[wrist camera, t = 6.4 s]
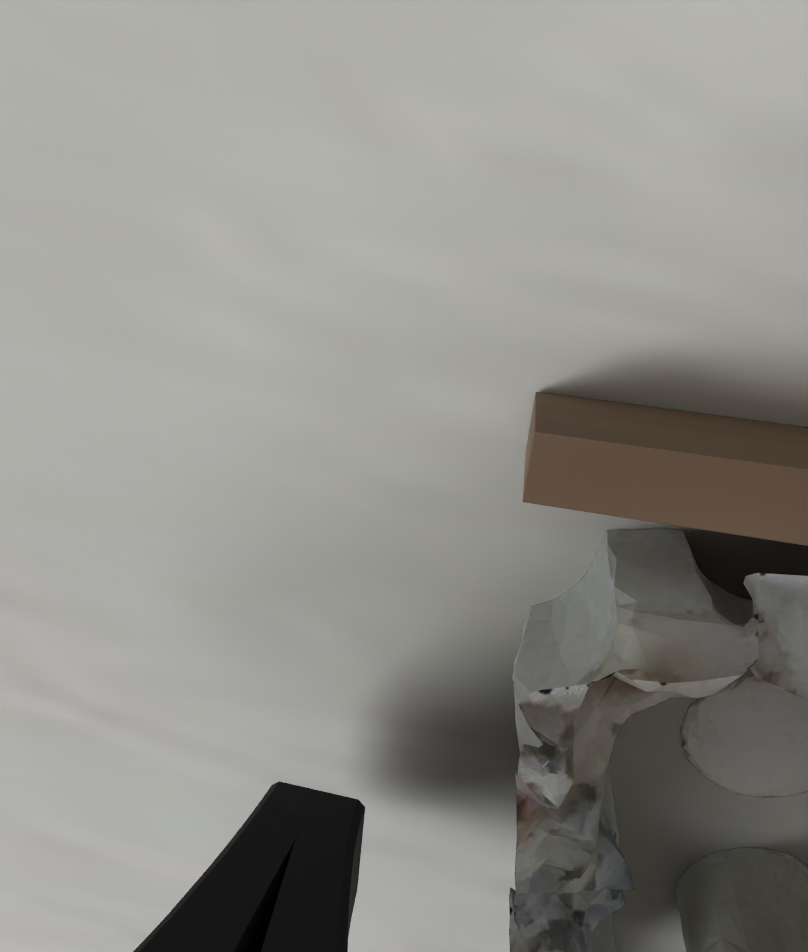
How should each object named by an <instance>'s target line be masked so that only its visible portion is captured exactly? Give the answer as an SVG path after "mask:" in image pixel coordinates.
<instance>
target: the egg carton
mask: <svg viewBox="0 0 808 952" xmlns="http://www.w3.org/2000/svg"><path fill="white" fill-rule="evenodd" d="M743 584H744V585H745V587H746V589H747V591H748V592H749V594H750V596H751V598H752V599H753V600H748V599H744V598H740V597H737V596H735V595H732V594H730V593H728V592H727V591H725V590H723V589H722V588H720V587H718V586H717V585H715V584H714V583H712V582H710V581H709V579H708V578H706V577H705V576H704V575H703V573H702V572H701V571H700V569H699V568H698V566H697V564H696V562H695V559H694V557H693V554H692V552H691V549H690V547H689V544H688V542H687V540H686V537H685V535H684V533H683V531H682V530H673V529H618V530H608V531H606V533H605V534H604V535H603V536H602V539H601V543H600V546H599V549H598V551H597V553H596V555H595V557H594V560H593V562H592V564H591V566H590V569H589V570H588V572H587V573H586V574H585V575H584V577H583V578H582V579H581V580H580V581H579V583H578V584H577V585H576V586H574V587H573V588H572V589H570V590H569V591H567V592H566V593H564V594H563V595H561V596H560V597H558V598H556V599H554V600H551V601H548V602H544V603H541V604H537V605H534V606H532V607H531V608H530V610H529V613H528V614H527V616H526V619H525V621H524V624H523V627H522V639H521V643H520V647H519V650H518V653H517V655H516V658H515V661H514V663H513V664H514V673H513V676H512V681H513V684H514V696H515V720H516V729H517V736H518V743H519V749H520V756H519V766H518V774H517V773H516V772H515V778H516V797H517V845H516V861H515V886H516V891H515V890H513V889H512V888H511V887H510V895H509V905H510V928H509V937H510V952H617V949H616V940H615V934H614V923H613V916H612V913H613V912H614V911H617V910H620V908H621V907H622V906H623V905H624V903H625V901H624V896H623V891H622V890H628V889H634V888H633V883H632V879H631V874H630V869H629V866H628V865H627V863H626V861H625V859H624V857H623V855H622V853H621V851H620V849H619V835H620V834H619V829H618V823H617V818H616V812H615V804H614V797H613V789H612V782H611V775H610V767H609V759H610V756H611V753H612V749H613V746H614V743H615V739H616V736H617V733H618V731H619V729H620V727H621V726H622V725H623V723H624V722H625V721H626V720H627V718H628V717H629V716H630V715H631V714H634V713H636V712H639V711H641V710H644V709H646V708H649V707H651V706H654V705H656V704H658V703H660V702H663V701H665V700H667V699H669V698H671V697H680V698H698V699H697V700H695V701H694V702H693V703H692V704H691V705H690V706H689V707H688V710H687V713H686V716H685V719H684V721H683V724H682V727H681V735H682V737H683V740H684V744H683V746H682V747H683V748H684V749H685V750H686V751H687V753H686V757H687V759H688V760H689V761H690V762H691V763H692V764H693V765H694V766H695V767H696V768H697V770H698V771H699V772H700V773H701V774H702V775H703V776H704V777H706V778H707V779H709V780H710V781H712V782H713V783H715V784H716V785H719V786H721V787H724V788H726V789H728V790H731V791H733V792H735V793H738V794H743V795H749V796H754V797H782V796H788V795H794V794H800V793H804V792H806V791H808V576H800V575H784V574H768V573H755V574H752V575H748V576H746V577H745V580H744V583H743ZM748 669H750V670H751V672H749V673H745V672H746V671H747V670H748ZM676 900H677V904H678V908H679V912H680V917H681V924H682V931H683V938H684V943H685V947H686V951H687V952H808V866H806V865H805V864H804V863H802V862H801V861H800V860H798V859H797V858H795V857H794V856H791V855H788V854H786V853H782V852H777V851H773V850H769V849H765V848H735V849H728V850H722V851H716V852H714V853H711V854H709V855H707V856H705V857H703V858H701V859H700V860H698V861H697V862H695V863H694V864H693V865H692V866H691V867H690V868H689V869H687V871H686V872H685V873H684V875H683V876H682V877H681V878H680V880H679V882H678V885H677V895H676Z"/></svg>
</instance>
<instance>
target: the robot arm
mask: <svg viewBox="0 0 808 952" xmlns="http://www.w3.org/2000/svg"><path fill="white" fill-rule="evenodd" d="M364 813H365V807H364V806H363V804H362V803H361V802H360V801H359V800H357V799H353V798H349V797H344V796H340V795H336V794H331V793H327V792H323V791H318V790H314V789H309V788H305V787H301V786H296V785H292V784H288V783H283V782H277V783H276V784H274V785H272V786H271V787H270V789H269V790H268V792H267V793H266V794H265V796H264V797H263V799H262V800H261V802H260V803H259V804H258V806H257V807H256V808H255V810H254V811H253V812H252V814H251V815H250V816H249V818H248V819H247V820H246V822H245V823H244V824H243V826H242V827H241V828H240V829H239V831H238V832H237V833H236V835H235V836H234V837H233V838H232V840H231V841H230V842H229V843H228V845H227V846H226V847H225V848H224V849H223V851H222V852H221V853H220V854H219V856H218V857H217V858H216V859H215V861H214V862H213V863H212V864H211V865H210V867H209V868H208V869H207V870H206V871H205V872H204V874H203V875H202V876H201V877H200V878H199V879H198V881H197V882H196V883H195V884H194V885H193V886H192V888H191V889H190V890H189V891H188V892H187V893H186V894H185V896H184V897H183V898H182V899H181V900H180V901H179V903H178V904H177V905H176V906H175V907H174V908H173V909H172V911H171V912H170V913H169V914H168V915H167V916H166V917H165V918H164V920H163V921H162V922H161V923H160V924H159V925H158V926H157V927H156V928H155V929H154V930H153V931H152V933H151V934H150V935H149V936H148V937H147V938H146V939H145V940H144V941H143V942H142V943H141V944H140V945H139V946H138V947H137V948H136V949H135V951H134V952H347V949H348V934H349V928H350V922H351V916H352V912H353V907H354V902H355V897H356V892H357V885H358V875H359V865H360V854H361V844H362V834H363V823H364Z"/></svg>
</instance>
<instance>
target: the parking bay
mask: <svg viewBox="0 0 808 952" xmlns="http://www.w3.org/2000/svg"><path fill="white" fill-rule="evenodd" d="M523 502H527V503H533V504H540V505H546V506H553V507H559V508H566V509H572V510H579V511H585V512H592V513H598V514H605V515H611V516H618V517H624V518H631V519H637V520H644V521H650V522H657V523H663V524H670V525H676V526H683V527H689V528H696V529H702V530H709V531H715V532H722V533H728V534H735V535H741V536H748V537H754V538H761V539H767V540H774V541H780V542H787V543H793V544H800V545H806V546H808V428H807V427H799V426H792V425H784V424H776V423H769V422H761V421H754V420H746V419H738V418H731V417H723V416H715V415H708V414H700V413H692V412H685V411H677V410H670V409H662V408H654V407H647V406H639V405H631V404H624V403H616V402H609V401H601V400H593V399H586V398H578V397H570V396H563V395H555V394H547V393H540V392H536V395H535V401H534V407H533V413H532V419H531V425H530V430H529V436H528V442H527V448H526V458H525V475H524V493H523Z"/></svg>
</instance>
